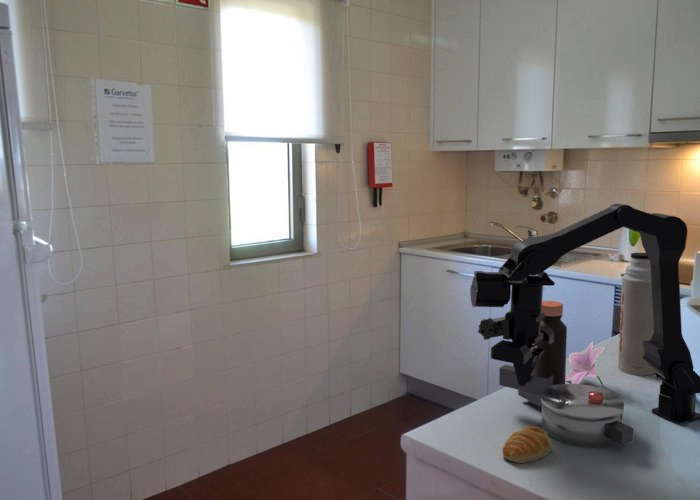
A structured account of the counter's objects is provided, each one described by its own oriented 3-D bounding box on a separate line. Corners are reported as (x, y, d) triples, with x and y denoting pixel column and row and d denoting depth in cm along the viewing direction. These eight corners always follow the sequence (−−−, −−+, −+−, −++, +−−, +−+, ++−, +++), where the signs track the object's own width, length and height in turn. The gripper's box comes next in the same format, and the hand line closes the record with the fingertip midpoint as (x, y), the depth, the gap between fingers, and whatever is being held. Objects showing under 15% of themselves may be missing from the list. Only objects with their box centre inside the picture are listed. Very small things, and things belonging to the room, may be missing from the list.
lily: (571, 375, 141) (554, 344, 138) (622, 364, 135) (605, 330, 132) (569, 409, 131) (550, 376, 129) (623, 398, 125) (605, 363, 122)
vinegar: (542, 384, 133) (544, 298, 130) (570, 393, 128) (573, 303, 125) (525, 393, 129) (527, 303, 125) (554, 402, 124) (557, 309, 120)
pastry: (526, 471, 98) (526, 449, 97) (491, 457, 103) (491, 436, 102) (555, 451, 104) (556, 431, 103) (521, 439, 109) (522, 419, 108)
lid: (517, 373, 126) (518, 356, 125) (633, 400, 111) (634, 381, 110) (485, 395, 115) (485, 376, 115) (609, 428, 100) (609, 406, 100)
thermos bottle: (614, 371, 140) (619, 254, 135) (622, 361, 146) (627, 249, 142) (652, 378, 135) (658, 257, 131) (657, 367, 141) (664, 252, 137)
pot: (548, 393, 128) (548, 371, 127) (655, 445, 104) (656, 418, 104) (496, 405, 123) (496, 382, 122) (596, 463, 99) (597, 435, 98)
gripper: (504, 293, 125) (500, 364, 127) (466, 310, 110) (462, 390, 112) (557, 300, 118) (552, 375, 121) (524, 319, 103) (520, 404, 106)
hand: (521, 385), depth 115 cm, fingers closed
